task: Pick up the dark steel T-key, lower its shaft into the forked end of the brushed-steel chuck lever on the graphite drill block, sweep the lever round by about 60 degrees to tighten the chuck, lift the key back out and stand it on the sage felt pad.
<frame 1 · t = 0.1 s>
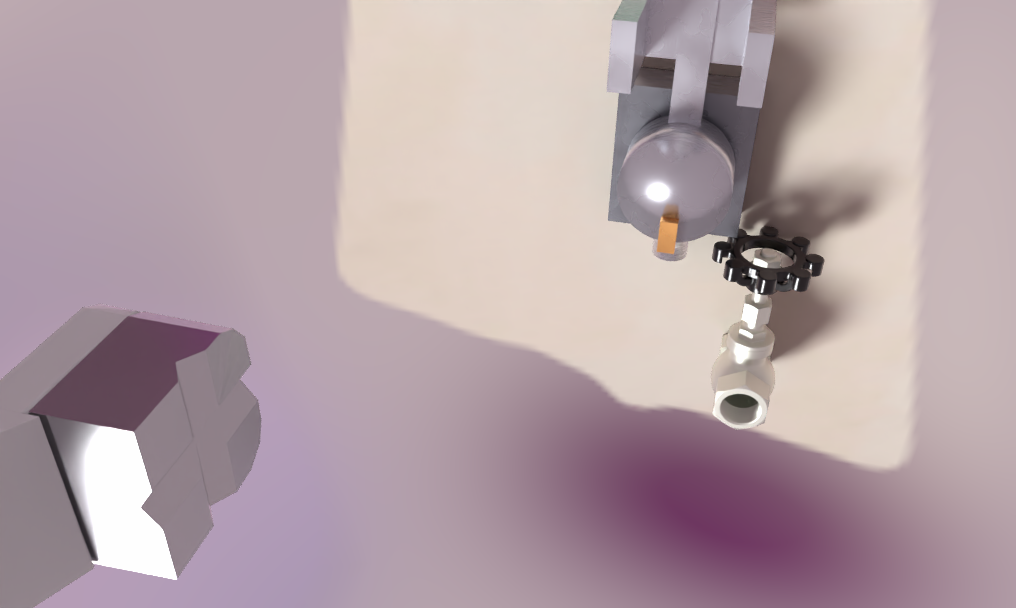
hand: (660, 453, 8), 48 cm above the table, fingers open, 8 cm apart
valve: (754, 301, 63), on the table
drill block: (684, 142, 57), on the table
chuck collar: (681, 135, 50), point 7 cm above the table, hinge at 0.0°
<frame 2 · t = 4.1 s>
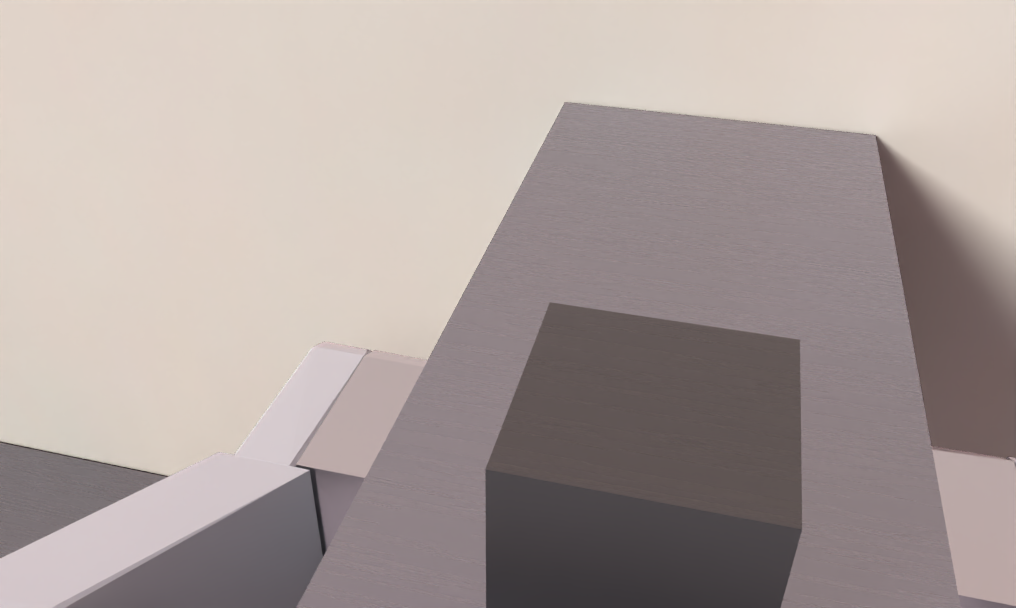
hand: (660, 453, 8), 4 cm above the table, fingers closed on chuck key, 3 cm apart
chuck key: (696, 249, 11), on the table, touching gripper
drill block: (12, 573, 19), on the table
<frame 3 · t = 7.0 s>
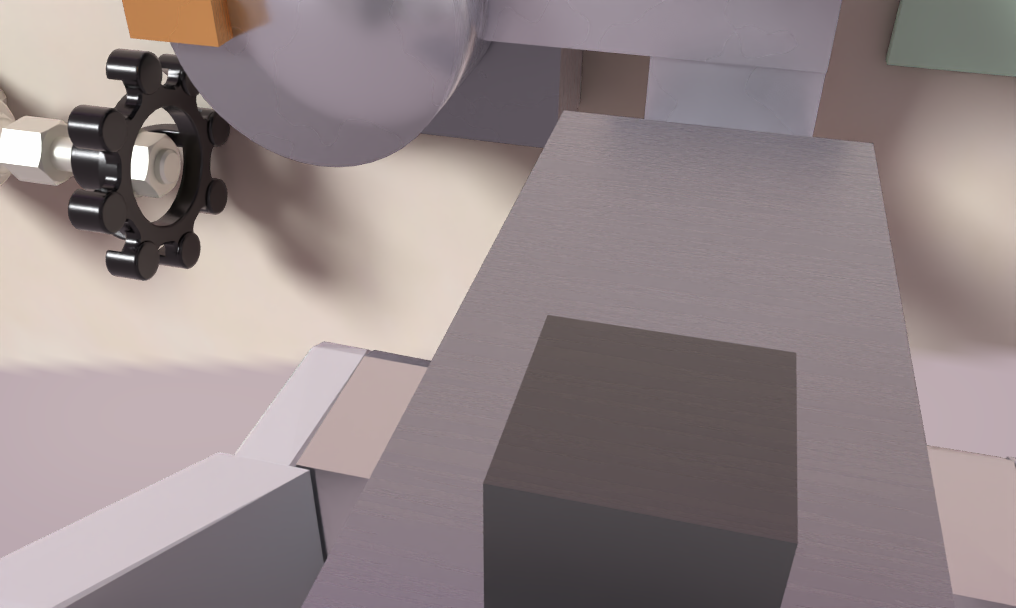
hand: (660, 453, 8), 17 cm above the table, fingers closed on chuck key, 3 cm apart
valve: (66, 100, 30), on the table
chuck key: (694, 256, 11), point 14 cm above the table, touching gripper
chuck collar: (466, 31, 18), point 7 cm above the table, hinge at 0.0°
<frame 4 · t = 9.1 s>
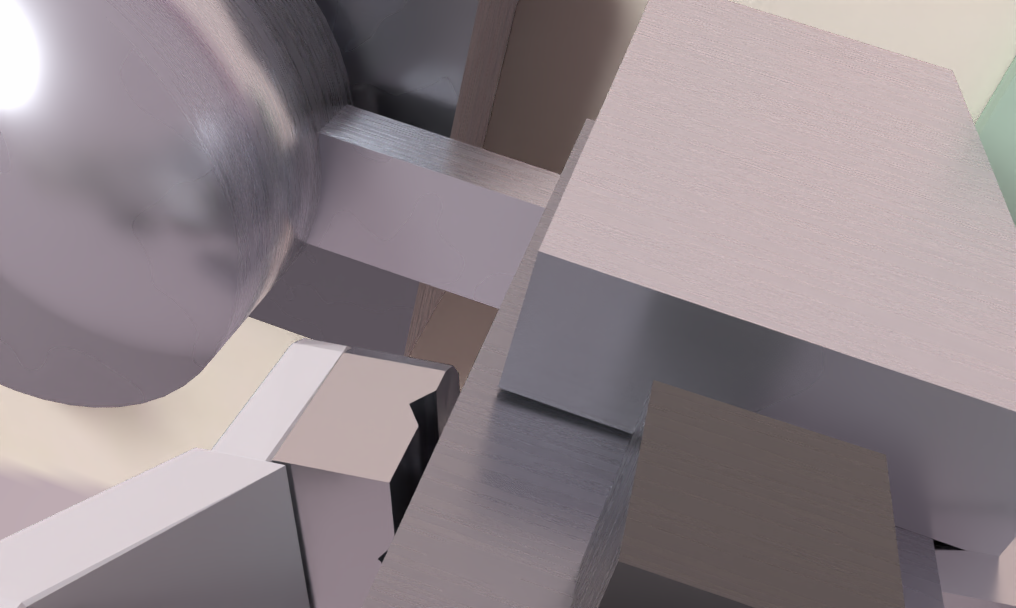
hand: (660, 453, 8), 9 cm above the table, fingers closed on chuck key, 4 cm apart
chuck key: (683, 280, 12), point 5 cm above the table, touching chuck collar, gripper
drill block: (257, 24, 17), on the table
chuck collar: (258, 278, 11), point 7 cm above the table, hinge at 0.3°, touching chuck key, gripper
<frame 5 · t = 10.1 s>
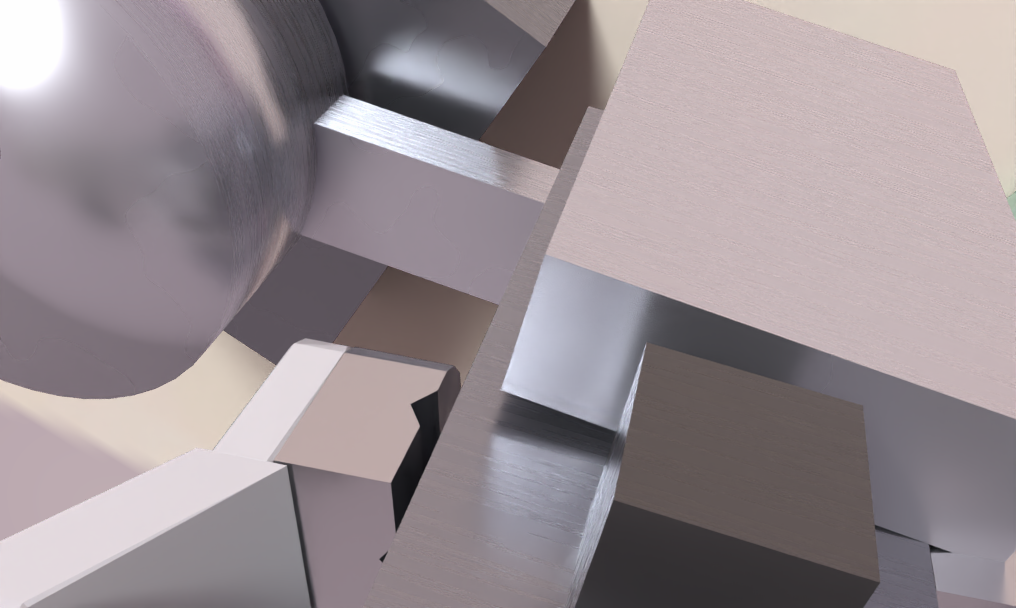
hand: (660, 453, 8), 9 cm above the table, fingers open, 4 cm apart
chuck key: (686, 260, 12), point 4 cm above the table, touching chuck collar, gripper
drill block: (251, 10, 16), on the table
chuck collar: (253, 270, 11), point 7 cm above the table, hinge at 19.3°, touching chuck key, gripper
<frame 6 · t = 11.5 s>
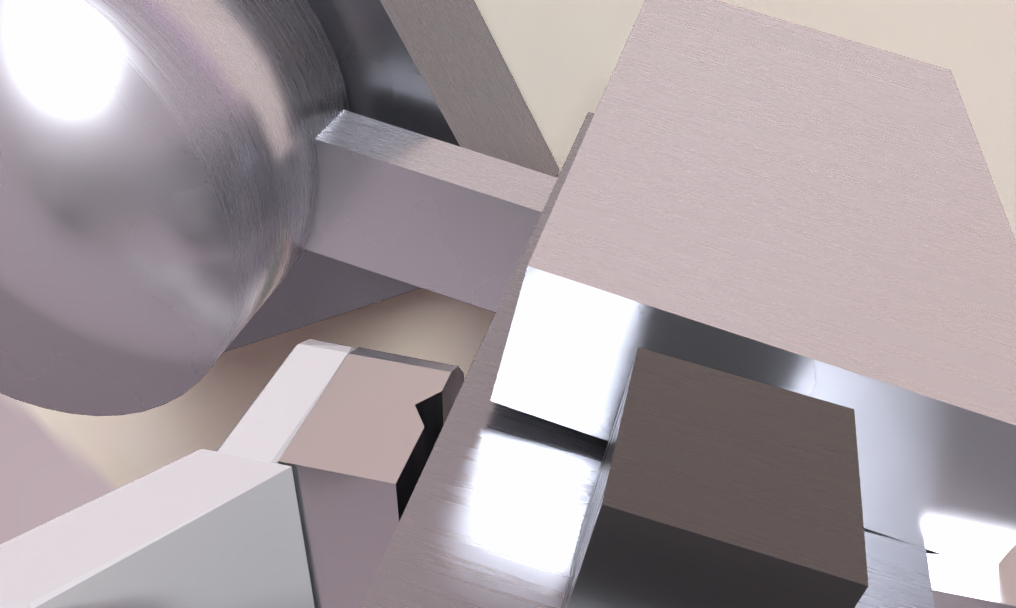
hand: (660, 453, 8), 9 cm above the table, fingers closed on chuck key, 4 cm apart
chuck key: (688, 265, 12), point 5 cm above the table, touching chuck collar, gripper
drill block: (254, 28, 17), on the table
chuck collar: (255, 286, 11), point 7 cm above the table, hinge at 49.9°, touching chuck key, gripper
when the fingers open (5 cm above the table, at t = 17.4 s): chuck key stays where it is, resting on felt pad.
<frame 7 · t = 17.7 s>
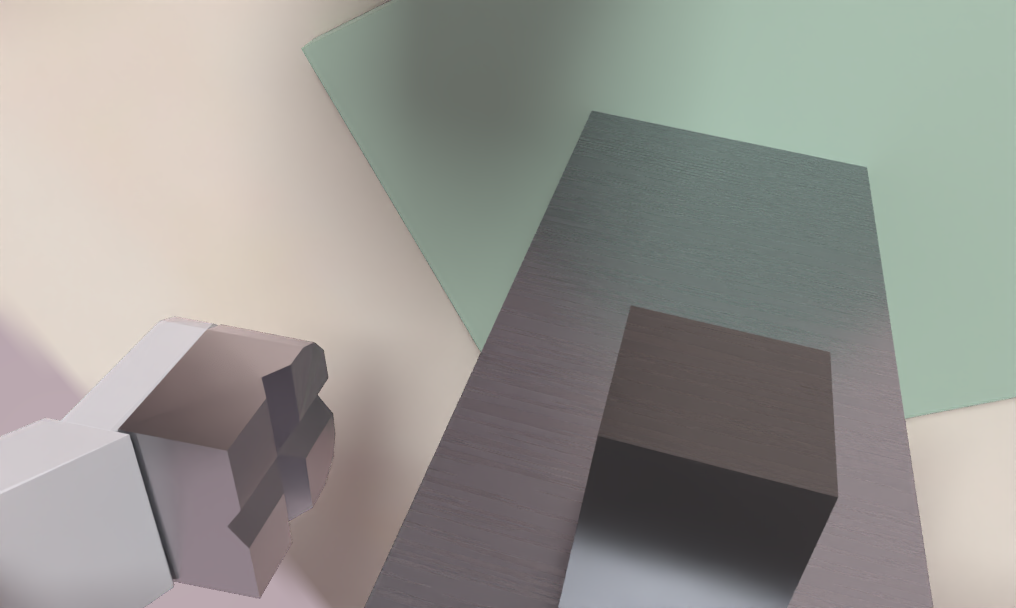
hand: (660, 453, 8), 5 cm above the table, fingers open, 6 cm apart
felt pad: (703, 197, 12), on the table
chuck key: (695, 253, 12), resting on felt pad
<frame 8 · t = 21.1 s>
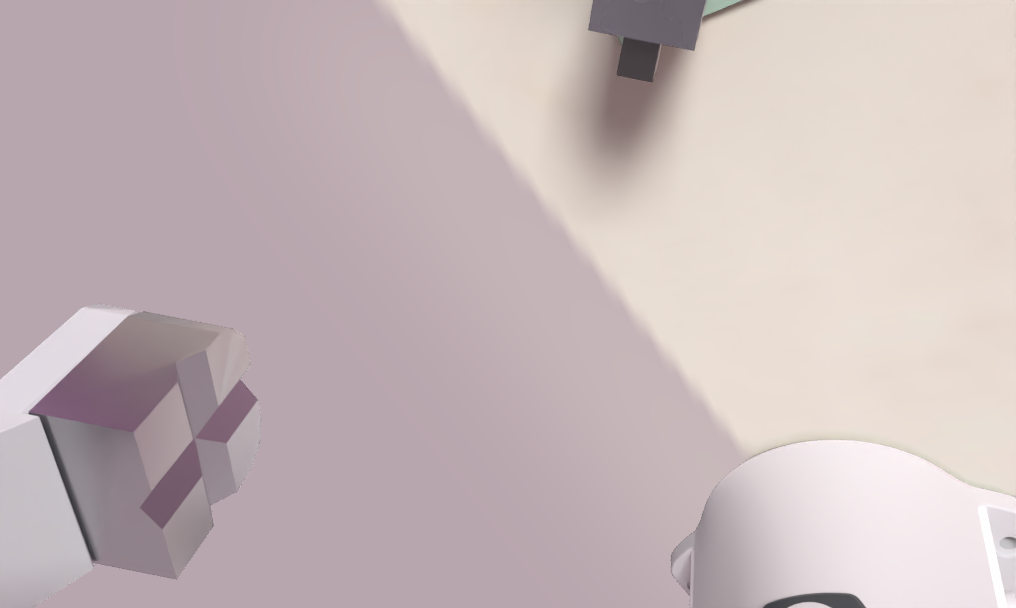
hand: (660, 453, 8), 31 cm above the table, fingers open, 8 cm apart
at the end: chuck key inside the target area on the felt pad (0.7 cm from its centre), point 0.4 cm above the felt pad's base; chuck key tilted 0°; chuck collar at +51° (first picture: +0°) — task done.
